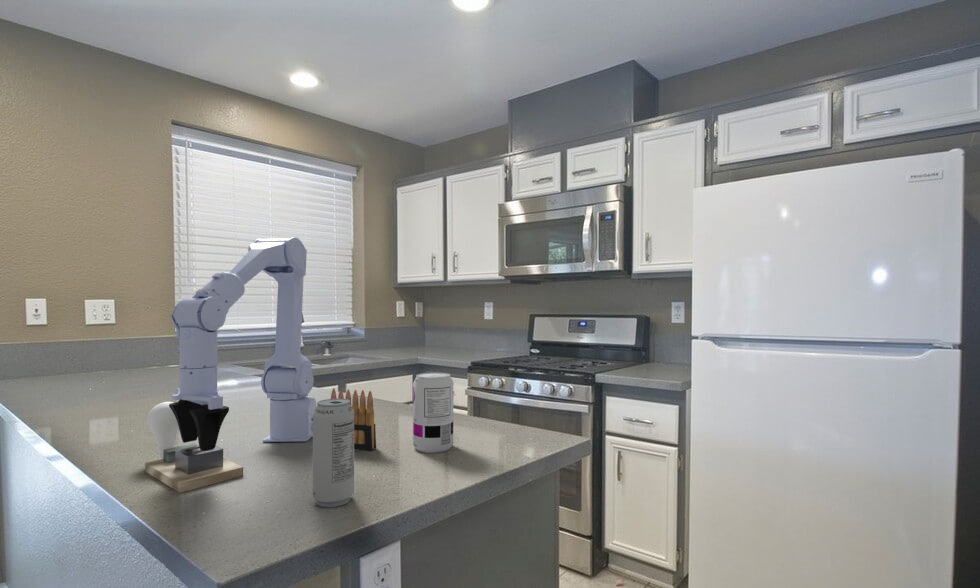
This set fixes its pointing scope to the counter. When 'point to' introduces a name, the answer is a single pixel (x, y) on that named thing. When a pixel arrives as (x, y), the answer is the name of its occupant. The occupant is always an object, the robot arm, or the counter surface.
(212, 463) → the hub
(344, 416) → the energy drink can
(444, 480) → the counter surface
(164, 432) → the lightbulb
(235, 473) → the stand
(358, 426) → the ammunition clip
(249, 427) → the counter surface
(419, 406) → the supplement can
